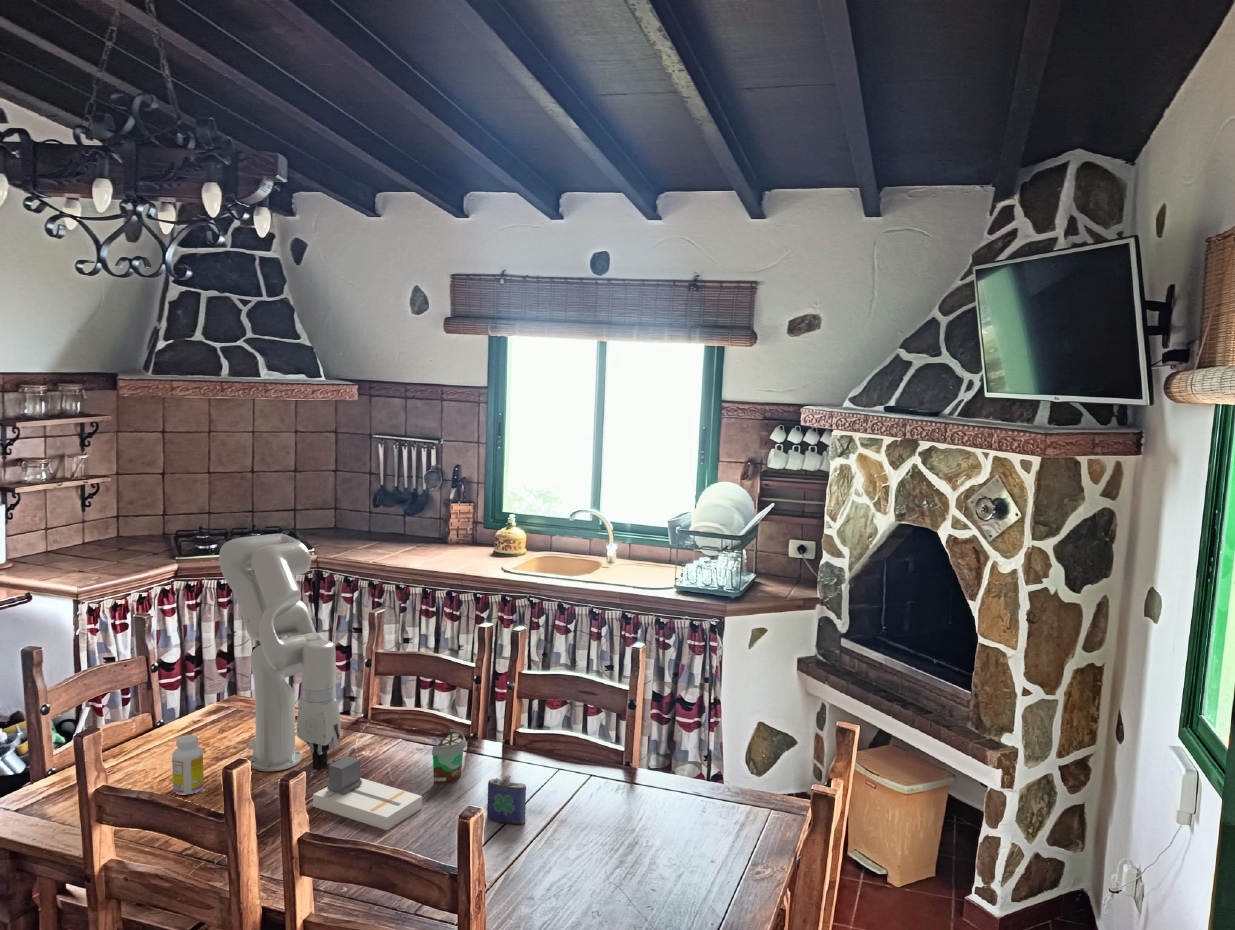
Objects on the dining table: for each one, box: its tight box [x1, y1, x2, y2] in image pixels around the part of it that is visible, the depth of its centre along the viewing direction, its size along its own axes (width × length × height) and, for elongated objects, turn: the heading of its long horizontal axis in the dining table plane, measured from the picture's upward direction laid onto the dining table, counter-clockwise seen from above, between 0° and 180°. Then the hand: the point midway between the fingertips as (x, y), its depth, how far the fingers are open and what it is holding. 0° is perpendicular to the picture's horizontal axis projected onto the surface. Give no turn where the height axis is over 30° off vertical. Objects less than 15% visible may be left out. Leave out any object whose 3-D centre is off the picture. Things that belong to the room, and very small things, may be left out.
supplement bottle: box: [171, 734, 205, 795], centre depth 221 cm, size 7×7×13 cm
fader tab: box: [326, 755, 362, 794], centre depth 219 cm, size 5×6×6 cm
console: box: [312, 777, 423, 831], centre depth 216 cm, size 22×12×3 cm, turn 63°
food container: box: [431, 728, 467, 785], centre depth 233 cm, size 12×6×10 cm, turn 168°
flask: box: [486, 774, 527, 826], centre depth 212 cm, size 9×3×11 cm, turn 74°
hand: (320, 768), depth 222 cm, fingers closed
